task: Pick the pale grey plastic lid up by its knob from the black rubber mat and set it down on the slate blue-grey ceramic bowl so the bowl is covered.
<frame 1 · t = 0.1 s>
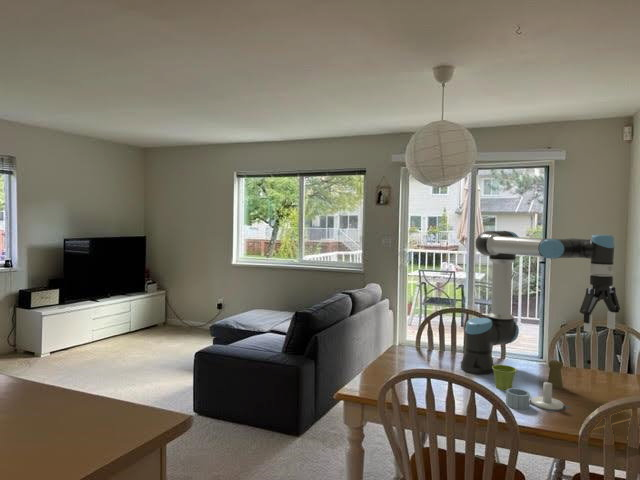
hand: (599, 330, 182), 28 cm above the table, tool pointing down, fingers open, 13 cm apart
plant pot: (503, 389, 196), on the table
lid: (547, 404, 178), resting on mat
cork: (554, 387, 199), on the table
bowl: (517, 406, 177), on the table
mat: (547, 405, 178), on the table
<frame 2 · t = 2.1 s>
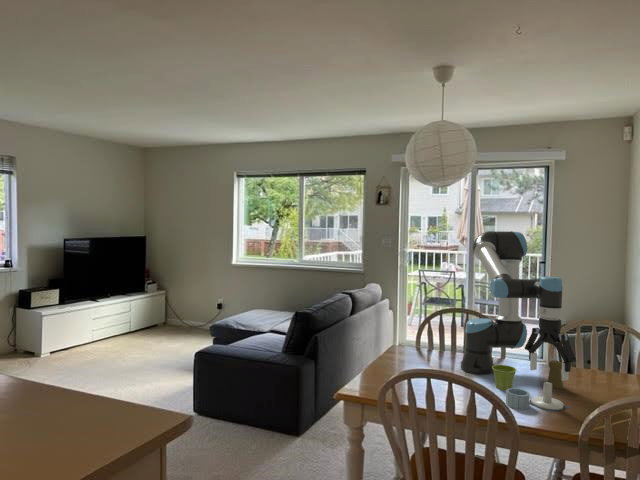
hand: (548, 374, 177), 12 cm above the table, tool pointing down, fingers open, 13 cm apart
nothing on the table moved.
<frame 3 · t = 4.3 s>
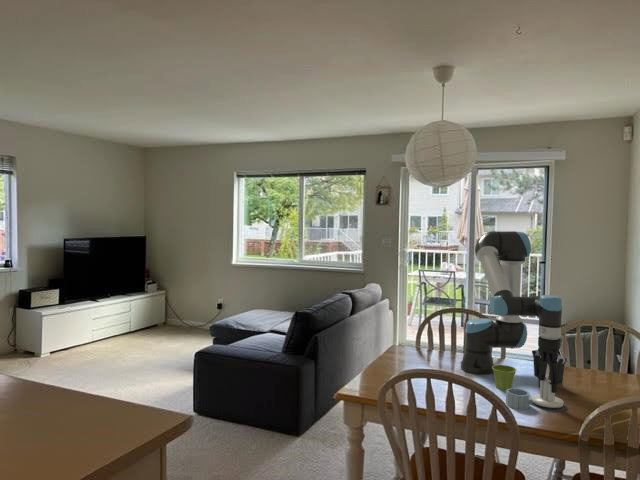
hand: (547, 398, 178), 3 cm above the table, tool pointing down, fingers closed on lid, 3 cm apart
lid: (547, 402, 178), point 1 cm above the table, touching gripper
everything else where it was.
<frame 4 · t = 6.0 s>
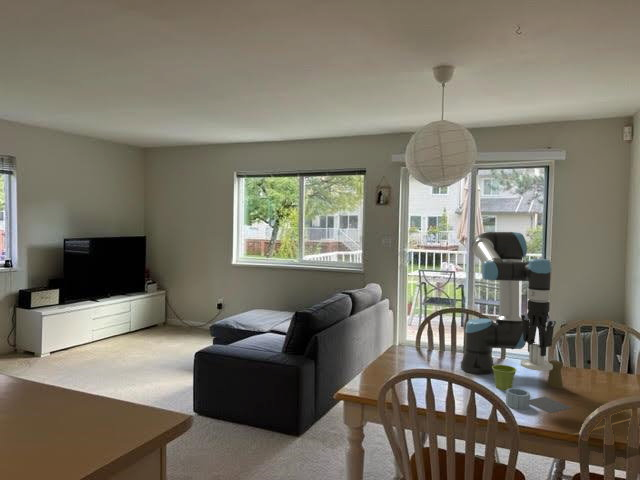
hand: (536, 362, 177), 16 cm above the table, tool pointing down, fingers closed on lid, 3 cm apart
lid: (536, 366, 177), point 15 cm above the table, touching gripper
everything else where it was.
when the fingers open (9 cm above the table, at t = 8.0 s): lid drops 2 cm, resting on bowl.
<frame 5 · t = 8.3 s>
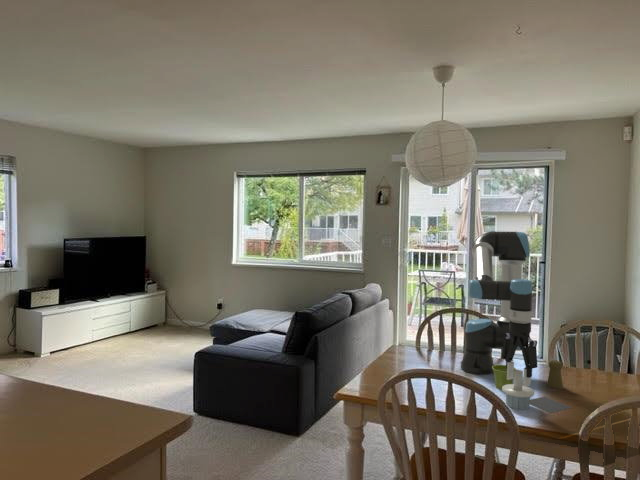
hand: (518, 382, 177), 9 cm above the table, tool pointing down, fingers open, 7 cm apart
lid: (517, 391, 177), point 5 cm above the table, touching bowl
everything else where it was.
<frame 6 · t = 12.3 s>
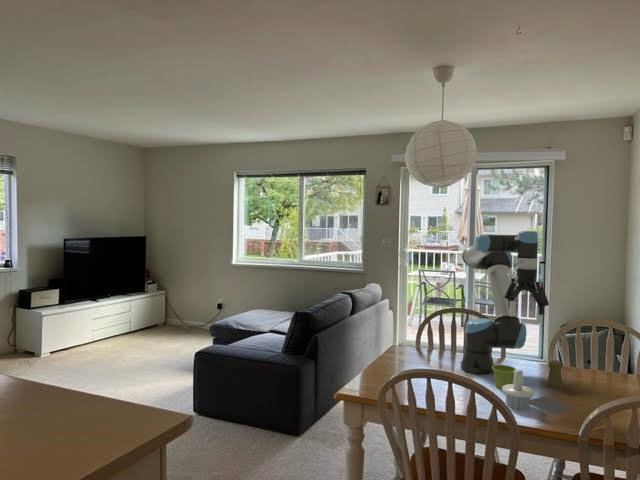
hand: (525, 319, 197), 29 cm above the table, tool pointing down, fingers open, 13 cm apart
nothing on the table moved.
at the end: lid 0.0 cm off-centre on the bowl, point 5.5 cm above the bowl's base; lid tilted 0°; the gripper is holding nothing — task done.
